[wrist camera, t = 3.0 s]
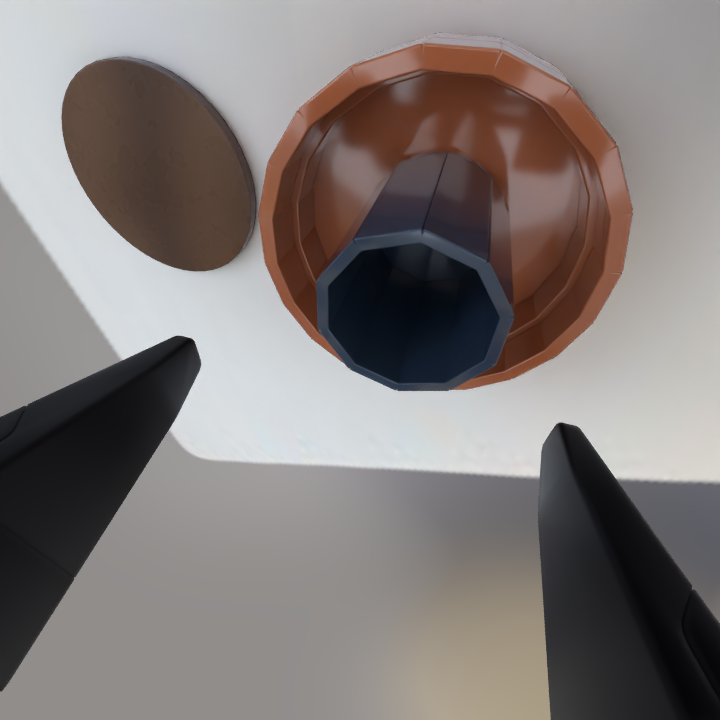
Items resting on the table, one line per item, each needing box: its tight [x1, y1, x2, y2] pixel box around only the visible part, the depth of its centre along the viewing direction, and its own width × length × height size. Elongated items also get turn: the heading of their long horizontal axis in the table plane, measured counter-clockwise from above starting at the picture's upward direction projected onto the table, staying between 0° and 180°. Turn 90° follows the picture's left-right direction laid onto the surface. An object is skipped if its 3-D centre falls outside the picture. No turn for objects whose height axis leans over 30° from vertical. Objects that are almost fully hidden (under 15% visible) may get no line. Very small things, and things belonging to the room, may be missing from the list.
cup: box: [316, 152, 514, 391], centre depth 15 cm, size 6×6×8 cm
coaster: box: [62, 57, 256, 271], centre depth 20 cm, size 10×10×1 cm
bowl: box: [258, 33, 633, 390], centre depth 16 cm, size 13×13×4 cm
